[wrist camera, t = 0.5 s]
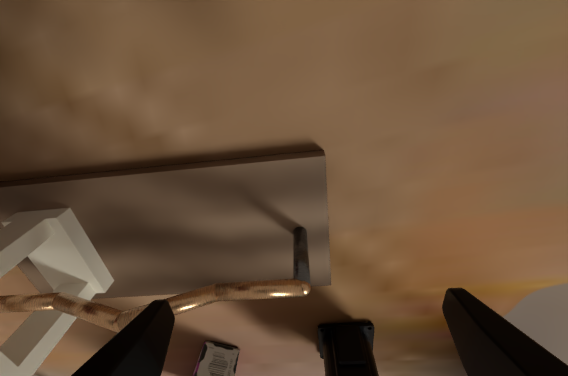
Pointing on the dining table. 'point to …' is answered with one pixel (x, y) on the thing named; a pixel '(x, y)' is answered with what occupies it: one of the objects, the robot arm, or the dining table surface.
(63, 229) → the hollow square tube
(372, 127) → the dining table surface
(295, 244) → the bent copper wire
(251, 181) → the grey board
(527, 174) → the dining table surface
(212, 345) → the candy bar box
